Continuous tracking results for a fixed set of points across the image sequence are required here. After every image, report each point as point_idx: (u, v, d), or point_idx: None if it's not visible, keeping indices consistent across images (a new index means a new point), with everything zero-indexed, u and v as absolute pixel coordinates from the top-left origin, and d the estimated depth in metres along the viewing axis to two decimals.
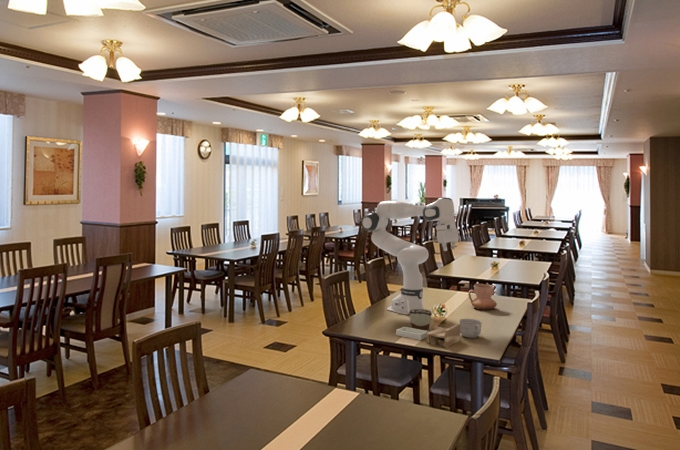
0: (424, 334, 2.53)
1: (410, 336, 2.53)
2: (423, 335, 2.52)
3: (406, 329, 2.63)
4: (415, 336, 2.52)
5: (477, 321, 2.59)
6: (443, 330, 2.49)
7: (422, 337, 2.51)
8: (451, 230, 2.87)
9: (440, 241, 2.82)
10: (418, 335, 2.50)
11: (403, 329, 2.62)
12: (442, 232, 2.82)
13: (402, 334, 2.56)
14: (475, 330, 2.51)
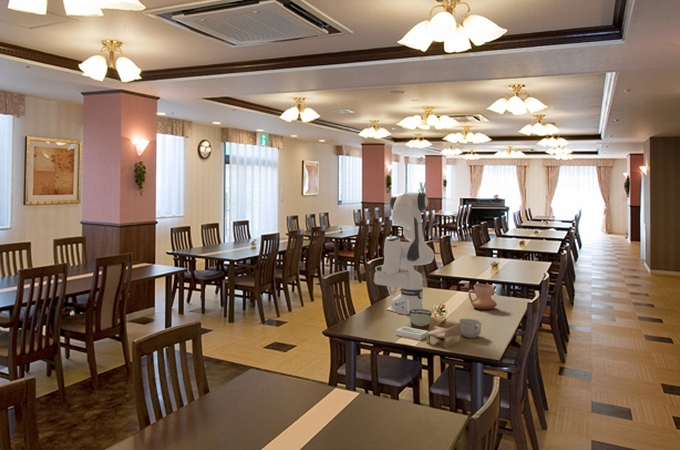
0: (424, 334, 2.53)
1: (410, 336, 2.53)
2: (423, 335, 2.52)
3: (406, 329, 2.63)
4: (415, 336, 2.52)
5: (477, 321, 2.59)
6: (443, 330, 2.49)
7: (422, 337, 2.51)
8: (387, 273, 2.61)
9: None
10: (418, 335, 2.50)
11: (403, 329, 2.62)
12: None
13: (402, 334, 2.56)
14: (475, 330, 2.51)
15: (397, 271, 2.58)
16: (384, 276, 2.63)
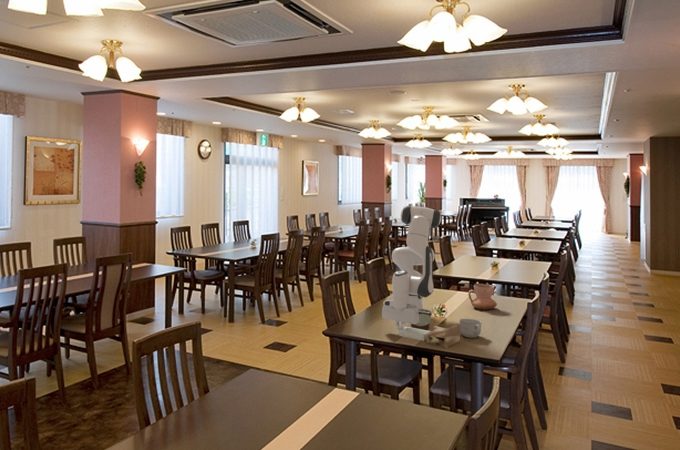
0: None
1: (413, 336, 2.52)
2: (426, 335, 2.51)
3: (409, 329, 2.62)
4: (417, 336, 2.51)
5: (477, 321, 2.59)
6: (443, 330, 2.49)
7: (425, 337, 2.50)
8: (395, 308, 2.59)
9: None
10: (421, 335, 2.49)
11: (406, 329, 2.61)
12: None
13: (405, 334, 2.55)
14: (475, 330, 2.51)
15: (405, 306, 2.56)
16: (392, 311, 2.61)
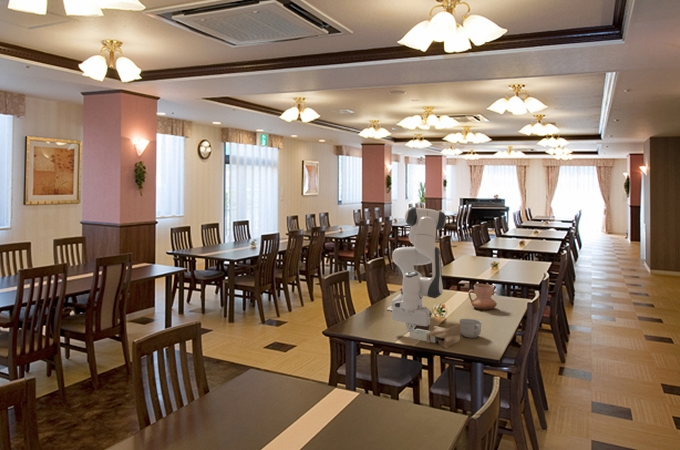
0: (439, 337, 2.48)
1: (424, 338, 2.48)
2: (437, 337, 2.47)
3: (419, 331, 2.58)
4: None
5: (477, 321, 2.59)
6: (443, 330, 2.49)
7: (436, 340, 2.46)
8: (405, 310, 2.55)
9: None
10: (432, 337, 2.46)
11: (416, 331, 2.58)
12: None
13: (416, 336, 2.51)
14: (475, 330, 2.51)
15: (416, 308, 2.53)
16: (402, 312, 2.58)
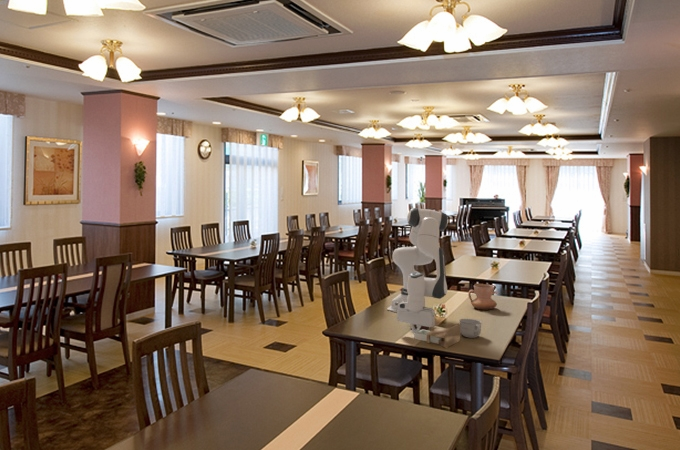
0: (444, 338, 2.47)
1: None
2: (443, 338, 2.45)
3: (424, 332, 2.56)
4: (434, 340, 2.45)
5: (477, 321, 2.59)
6: (443, 330, 2.49)
7: None
8: (410, 311, 2.53)
9: None
10: (438, 338, 2.44)
11: (421, 332, 2.56)
12: None
13: (421, 337, 2.50)
14: (475, 330, 2.51)
15: (421, 309, 2.51)
16: (407, 313, 2.56)
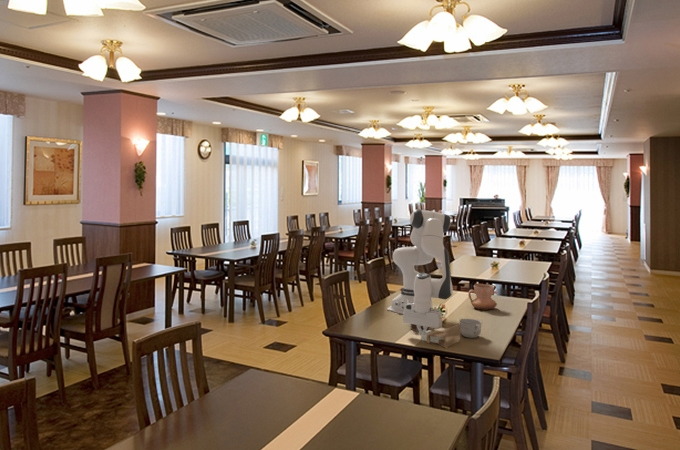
0: None
1: (436, 340, 2.45)
2: None
3: None
4: None
5: (477, 321, 2.59)
6: (443, 330, 2.49)
7: None
8: (417, 312, 2.51)
9: None
10: None
11: None
12: None
13: None
14: (475, 330, 2.51)
15: (428, 310, 2.49)
16: (414, 315, 2.54)
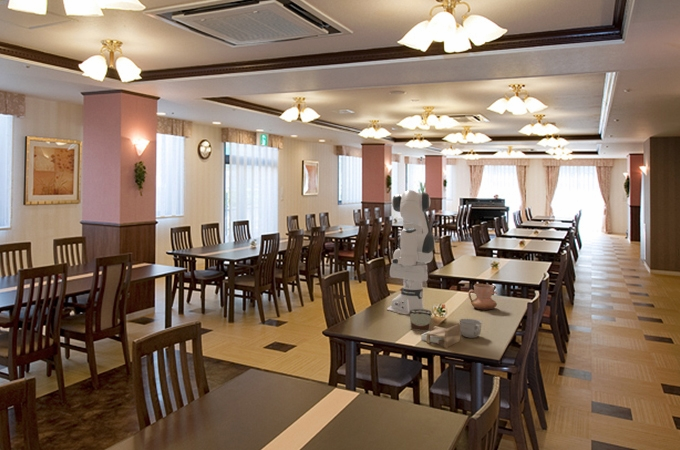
0: None
1: (436, 341, 2.45)
2: None
3: None
4: None
5: (477, 321, 2.59)
6: (443, 330, 2.49)
7: None
8: (403, 266, 2.55)
9: None
10: None
11: None
12: None
13: None
14: (475, 330, 2.51)
15: (414, 264, 2.52)
16: (400, 269, 2.57)
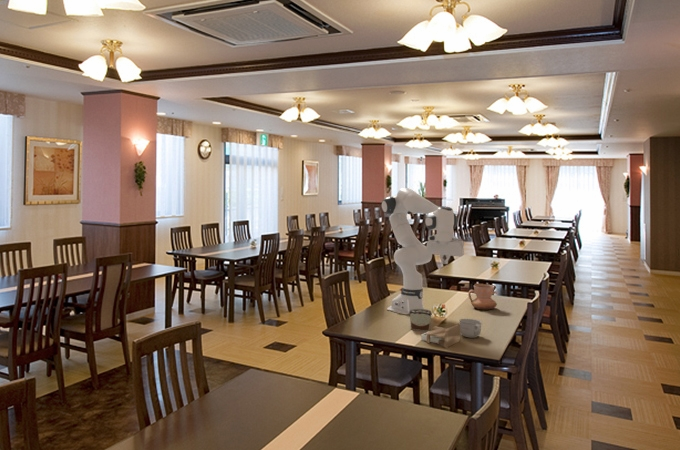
0: None
1: (436, 341, 2.45)
2: None
3: None
4: None
5: (477, 321, 2.59)
6: (443, 330, 2.49)
7: None
8: (440, 242, 2.68)
9: None
10: None
11: None
12: None
13: None
14: (475, 330, 2.51)
15: (450, 240, 2.66)
16: (437, 245, 2.71)
